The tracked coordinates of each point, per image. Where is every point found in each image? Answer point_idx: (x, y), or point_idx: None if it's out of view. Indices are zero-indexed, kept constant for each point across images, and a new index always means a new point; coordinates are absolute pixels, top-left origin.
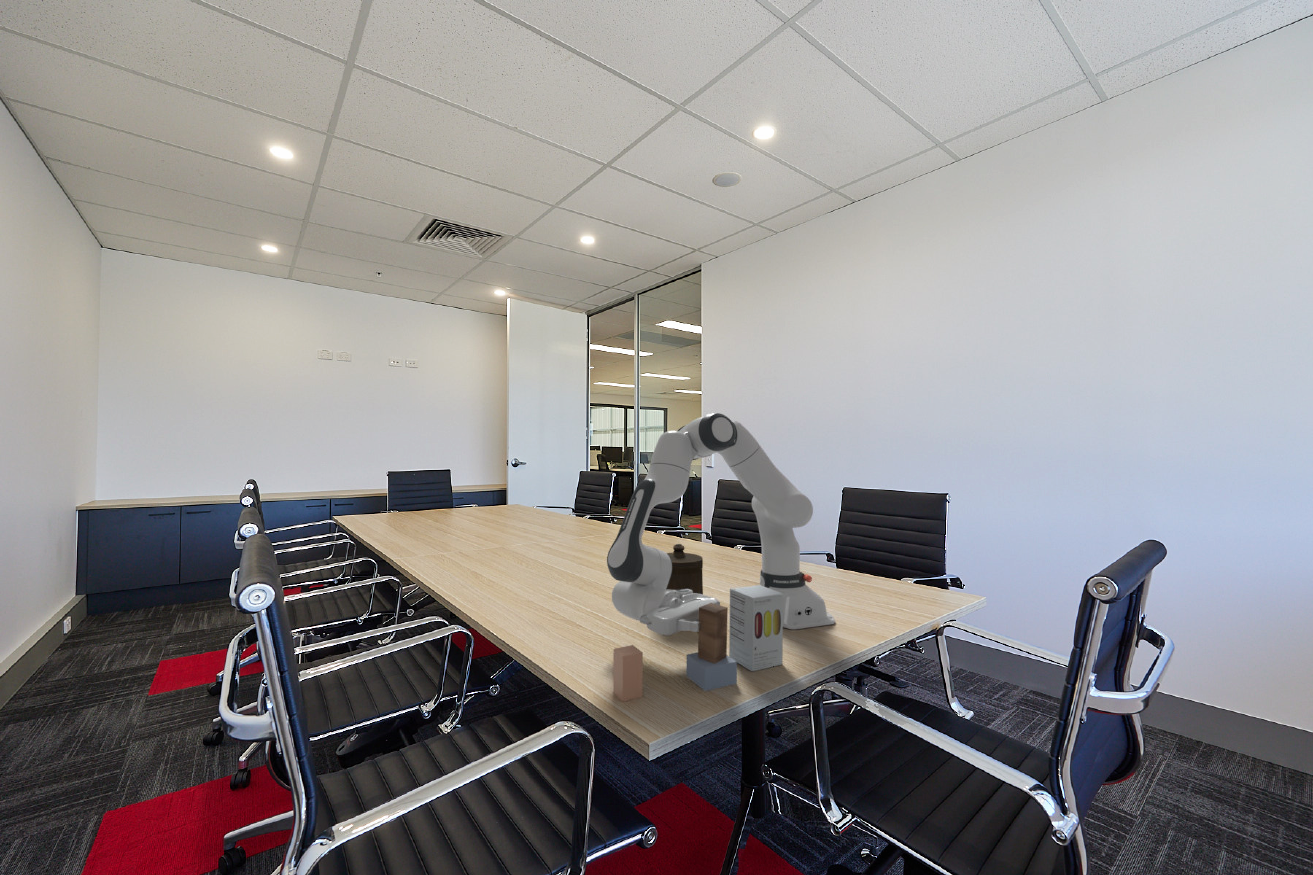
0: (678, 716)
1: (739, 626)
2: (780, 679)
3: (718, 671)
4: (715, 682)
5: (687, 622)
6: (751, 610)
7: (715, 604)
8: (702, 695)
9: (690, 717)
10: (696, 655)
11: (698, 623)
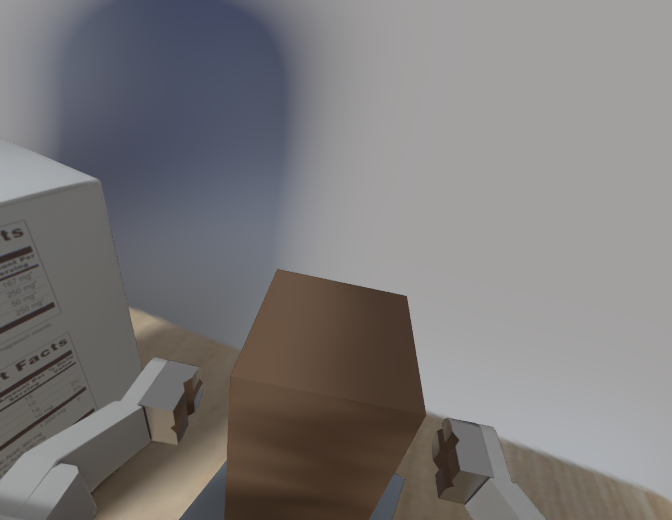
0: (554, 506)
1: (31, 403)
2: (188, 348)
3: None
4: None
5: (532, 507)
6: (108, 250)
7: (260, 333)
8: (411, 507)
9: (525, 471)
10: None
11: (468, 424)
